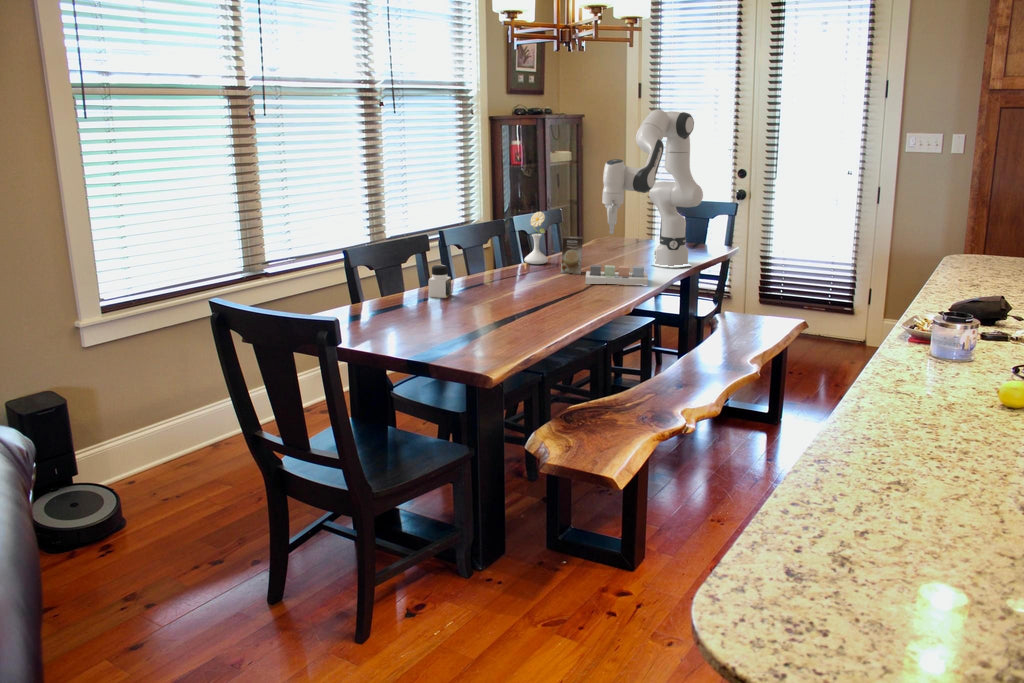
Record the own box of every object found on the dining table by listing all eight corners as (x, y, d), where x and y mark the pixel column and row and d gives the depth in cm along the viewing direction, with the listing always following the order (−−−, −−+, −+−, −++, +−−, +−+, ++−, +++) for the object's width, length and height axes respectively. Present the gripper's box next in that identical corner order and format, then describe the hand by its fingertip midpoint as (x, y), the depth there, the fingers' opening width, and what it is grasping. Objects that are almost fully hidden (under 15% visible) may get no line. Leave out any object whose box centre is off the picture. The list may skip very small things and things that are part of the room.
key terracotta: (618, 275, 368) (618, 265, 367) (628, 276, 368) (629, 266, 367) (618, 277, 364) (618, 267, 363) (628, 278, 364) (629, 267, 363)
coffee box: (560, 273, 384) (561, 237, 379) (561, 271, 390) (562, 235, 385) (581, 274, 383) (582, 238, 378) (581, 271, 389) (582, 236, 385)
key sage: (604, 275, 369) (604, 265, 368) (614, 275, 369) (615, 265, 367) (604, 277, 365) (604, 267, 364) (614, 277, 364) (615, 267, 363)
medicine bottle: (446, 298, 332) (445, 267, 329) (428, 297, 334) (428, 266, 331) (451, 294, 339) (450, 264, 336) (433, 293, 341) (433, 263, 337)
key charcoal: (590, 274, 370) (590, 264, 368) (600, 275, 369) (601, 265, 368) (590, 276, 365) (590, 266, 364) (600, 277, 365) (600, 267, 364)
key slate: (632, 276, 368) (633, 266, 367) (642, 276, 367) (643, 266, 366) (632, 278, 364) (633, 268, 362) (643, 278, 363) (643, 268, 362)
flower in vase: (520, 262, 409) (520, 209, 403) (541, 260, 414) (542, 208, 407) (532, 267, 398) (533, 212, 391) (553, 265, 403) (555, 212, 396)
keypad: (586, 277, 375) (586, 270, 374) (646, 279, 372) (646, 272, 371) (585, 284, 362) (585, 276, 361) (647, 286, 359) (648, 278, 358)
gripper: (620, 202, 348) (619, 236, 351) (620, 197, 367) (618, 229, 371) (605, 201, 348) (603, 235, 352) (605, 196, 368) (604, 228, 372)
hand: (611, 232), depth 362 cm, fingers open, 6 cm apart
